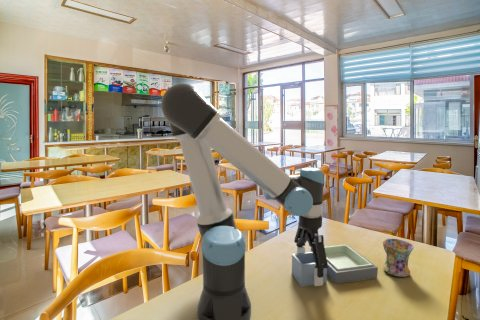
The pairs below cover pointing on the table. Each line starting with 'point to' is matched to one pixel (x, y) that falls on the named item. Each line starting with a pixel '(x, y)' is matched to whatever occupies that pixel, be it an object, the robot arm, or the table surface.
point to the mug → (397, 257)
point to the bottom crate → (352, 273)
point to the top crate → (345, 258)
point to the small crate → (305, 268)
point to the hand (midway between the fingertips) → (309, 274)
